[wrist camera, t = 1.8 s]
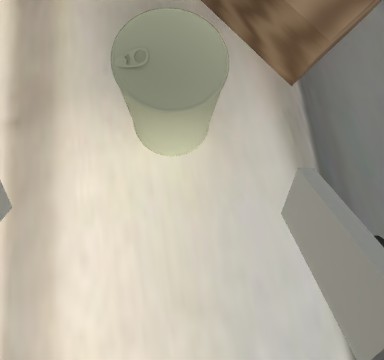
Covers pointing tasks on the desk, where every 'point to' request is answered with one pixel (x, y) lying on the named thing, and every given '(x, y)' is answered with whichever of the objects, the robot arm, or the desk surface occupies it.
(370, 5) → the walnut block
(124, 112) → the desk surface
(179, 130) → the can
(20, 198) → the desk surface
